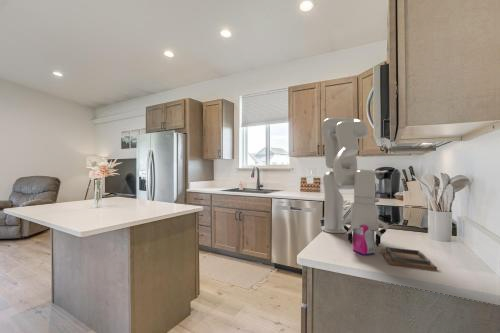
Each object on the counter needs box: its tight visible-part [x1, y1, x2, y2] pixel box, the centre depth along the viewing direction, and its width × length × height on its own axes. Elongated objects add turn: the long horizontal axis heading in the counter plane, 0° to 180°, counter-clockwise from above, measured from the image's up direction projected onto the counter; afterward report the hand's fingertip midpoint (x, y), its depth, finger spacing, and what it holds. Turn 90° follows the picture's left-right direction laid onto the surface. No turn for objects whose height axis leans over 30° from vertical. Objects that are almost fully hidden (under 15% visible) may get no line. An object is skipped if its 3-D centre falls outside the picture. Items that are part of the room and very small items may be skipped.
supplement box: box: [352, 225, 376, 257], centre depth 96 cm, size 6×6×12 cm
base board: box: [380, 246, 438, 272], centre depth 88 cm, size 14×14×2 cm
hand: (363, 243), depth 95 cm, fingers open, 9 cm apart
